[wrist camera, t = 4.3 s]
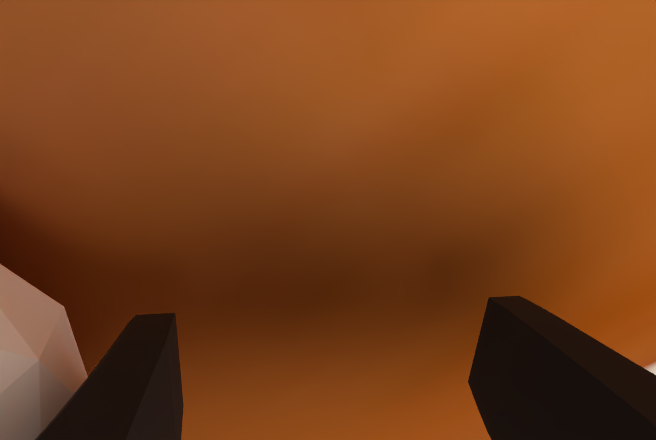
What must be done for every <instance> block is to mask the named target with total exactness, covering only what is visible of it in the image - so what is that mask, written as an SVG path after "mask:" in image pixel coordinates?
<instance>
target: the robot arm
mask: <svg viewBox="0 0 656 440" xmlns="http://www.w3.org/2000/svg"><path fill="white" fill-rule="evenodd" d="M468 383H469V386H470V388H471V391H472V394H473V396H474V399H475V402H476V404H477V407H478V410H479V412H480V414H481V417H482V419H483V422H484V424H485V427H486V429H487V431H488V434H489V436H490V437H491V439H492V440H656V375H654V374H653V373H651V372H649V371H648V370H646V369H644V368H642V367H641V366H639V365H637V364H636V363H634V362H632V361H630V360H629V359H627V358H625V357H624V356H622V355H620V354H619V353H617V352H615V351H614V350H612V349H610V348H609V347H607V346H605V345H604V344H602V343H600V342H599V341H597V340H595V339H594V338H592V337H590V336H589V335H587V334H585V333H584V332H582V331H580V330H579V329H577V328H575V327H574V326H572V325H570V324H569V323H567V322H565V321H564V320H562V319H560V318H559V317H557V316H555V315H554V314H552V313H550V312H548V311H547V310H545V309H543V308H541V307H540V306H538V305H536V304H534V303H532V302H530V301H528V300H526V299H524V298H522V297H520V296H508V297H489V299H488V303H487V307H486V311H485V315H484V319H483V323H482V327H481V331H480V335H479V339H478V343H477V347H476V351H475V356H474V360H473V364H472V368H471V372H470V376H469V380H468ZM182 417H183V396H182V384H181V373H180V362H179V350H178V339H177V328H176V317H175V313H168V314H148V315H136V316H135V317H134V318H133V319H132V320H131V321H130V322H129V323H128V324H127V326H126V327H125V329H124V330H123V331H122V333H121V334H120V335H119V337H118V338H117V340H116V341H115V342H114V344H113V345H112V346H111V348H110V349H109V350H108V352H107V353H106V354H105V356H104V357H103V358H102V360H101V361H100V362H99V363H98V365H97V366H96V367H95V369H94V370H93V371H92V372H91V374H90V375H89V376H88V378H87V379H86V380H85V381H84V382H83V384H82V385H81V386H80V387H79V389H78V390H77V391H76V392H75V393H74V395H73V396H72V397H71V398H70V399H69V401H68V402H67V403H66V404H65V406H64V407H63V408H62V409H61V410H60V412H59V413H58V414H57V415H56V416H55V418H54V419H53V420H52V421H51V422H50V423H49V425H48V426H47V427H46V428H45V429H44V430H43V431H42V432H41V434H40V435H39V436H38V437H37V438H36V439H35V440H181V431H182Z"/></svg>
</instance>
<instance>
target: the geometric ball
mask: <svg viewBox="0 0 656 440" xmlns="http://www.w3.org/2000/svg"><path fill="white" fill-rule="evenodd" d="M87 378H88V376H87V373H86V370H85V367H84V364H83V361H82V358H81V356H80V353H79V350H78V347H77V344H76V341H75V338H74V335H73V332H72V329H71V326H70V323H69V320H68V317H67V314H66V311H65V308H64V306H62V305H61V304H59V303H58V302H56V301H55V300H53V299H52V298H50V297H49V296H47V295H46V294H44V293H43V292H41V291H40V290H38V289H37V288H35V287H34V286H32V285H31V284H29V283H28V282H27V281H25V280H24V279H22V278H21V277H19V276H18V275H16V274H15V273H13V272H12V271H10V270H9V269H7V268H6V267H4V266H3V265H1V264H0V440H35V439H36V438H37V437H38V436H39V435H40V434H41V432H42V431H43V430H44V429H45V428H46V427H47V426H48V425H49V423H50V422H51V421H52V420H53V419H54V418H55V416H56V415H57V414H58V413H59V412H60V410H61V409H62V408H63V407H64V406H65V404H66V403H67V402H68V401H69V399H70V398H71V397H72V396H73V395H74V393H75V392H76V391H77V390H78V389H79V387H80V386H81V385H82V384H83V382H84V381H85V380H86V379H87Z"/></svg>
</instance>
